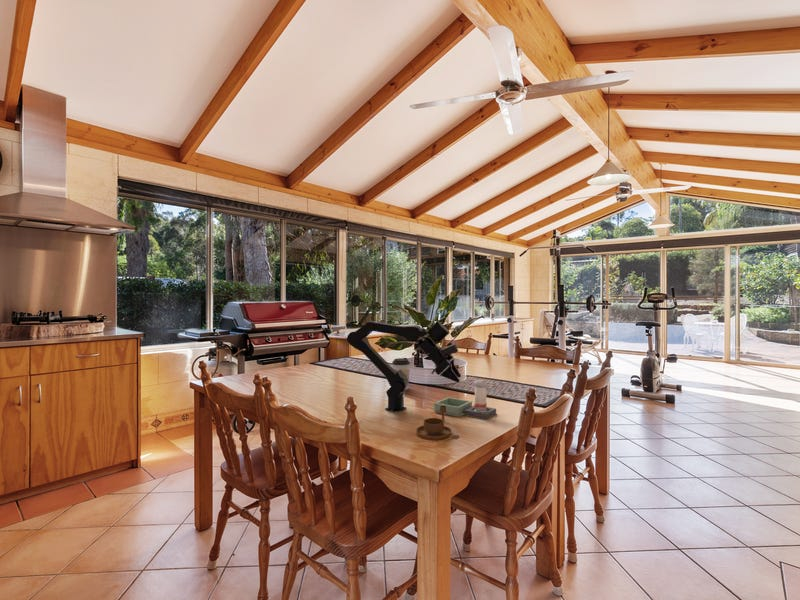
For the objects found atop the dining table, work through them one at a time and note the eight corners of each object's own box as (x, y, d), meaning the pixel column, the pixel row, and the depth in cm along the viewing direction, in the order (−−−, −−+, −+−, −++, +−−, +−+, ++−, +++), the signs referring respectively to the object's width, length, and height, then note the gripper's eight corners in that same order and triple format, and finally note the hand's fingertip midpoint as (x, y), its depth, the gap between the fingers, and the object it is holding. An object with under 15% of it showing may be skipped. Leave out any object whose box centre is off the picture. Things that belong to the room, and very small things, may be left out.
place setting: (402, 432, 139) (402, 415, 138) (441, 420, 152) (441, 404, 152) (440, 446, 126) (440, 428, 126) (479, 431, 139) (479, 414, 139)
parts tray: (458, 416, 154) (458, 407, 154) (434, 411, 161) (434, 403, 161) (471, 410, 163) (471, 401, 163) (448, 405, 169) (448, 397, 169)
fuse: (483, 417, 153) (483, 383, 153) (472, 414, 156) (472, 381, 156) (488, 414, 157) (488, 381, 157) (477, 412, 160) (477, 379, 160)
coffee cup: (399, 391, 194) (399, 360, 194) (388, 388, 201) (388, 358, 201) (413, 388, 200) (413, 358, 199) (402, 385, 207) (402, 356, 206)
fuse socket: (486, 419, 150) (486, 414, 150) (464, 415, 156) (464, 410, 156) (496, 413, 157) (496, 408, 157) (475, 409, 163) (475, 404, 163)
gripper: (443, 339, 150) (473, 369, 148) (448, 334, 168) (474, 361, 166) (422, 359, 152) (452, 390, 150) (429, 352, 170) (455, 379, 168)
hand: (459, 379), depth 158 cm, fingers open, 9 cm apart
